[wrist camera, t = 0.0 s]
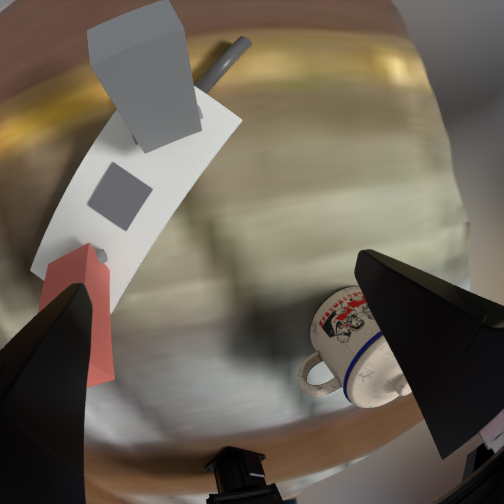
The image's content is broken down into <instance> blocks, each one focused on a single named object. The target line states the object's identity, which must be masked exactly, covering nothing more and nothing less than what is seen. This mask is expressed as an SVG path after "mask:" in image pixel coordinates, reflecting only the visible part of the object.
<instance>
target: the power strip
mask: <svg viewBox="0 0 504 504" xmlns="http://www.w3.org/2000/svg"><path fill="white" fill-rule="evenodd" d="M251 45H252V43H251V41H250V40H249V39H248V38H246V37H244V36H240V37H239V38H238V39H237V40H236V41H235V42H234V43H233V44H232V45H231V46H230V47H229V48H228V49H227V50H226V51H225V52H224V53H223V54H222V55H221V57H220V58H219V59H218V60H217V61H216V62H215V63H214V64H213V65H212V66H211V67H210V68H209V69H208V70H207V72H206V73H205V74H204V75H203V76H202V77H201V78H200V79H199V81H198V82H197V83H196V84H195V85H194V89H195V94H196V100H197V105H199V107H200V109H201V112H202V115H203V119H200V121H201V126H202V131H200V132H198V133H195V134H192V135H190V136H187V137H184V138H182V139H179V140H177V141H174V142H172V143H169V144H167V145H165V146H162V147H160V148H157V149H155V150H153V151H151V152H148V153H146V154H145V153H144V152H143V150H142V148H141V147H140V145H139V144H138V145H136V144H135V142H134V140H133V137H132V133H131V131H130V130H129V128H128V126H127V125H126V123H125V122H124V120H123V118H122V117H121V115H120V114H119V112H118V110H116V111H115V112H114V114H113V115H112V117H111V118H110V119H109V121H108V122H107V124H106V125H105V127H104V128H103V130H102V131H101V133H100V134H99V136H98V137H97V139H96V140H95V142H94V143H93V145H92V146H91V148H90V150H89V151H88V153H87V154H86V156H85V158H84V159H83V161H82V163H81V164H80V166H79V168H78V169H77V171H76V173H75V175H74V177H73V178H72V180H71V182H70V184H69V186H68V187H67V189H66V191H65V193H64V195H63V197H62V199H61V201H60V203H59V205H58V207H57V209H56V211H55V213H54V215H53V217H52V219H51V221H50V224H49V226H48V228H47V230H46V232H45V235H44V237H43V239H42V242H41V244H40V246H39V249H38V251H37V254H36V256H35V259H34V261H33V264H32V267H31V269H30V271H31V272H33V273H34V274H35V275H37V276H38V277H39V278H41V279H42V280H43V281H44V280H45V276H46V271H47V267H48V264H49V263H51V262H53V261H55V260H56V259H58V258H60V257H62V256H64V255H66V254H68V253H70V252H72V251H74V250H76V249H77V248H79V247H81V246H83V245H85V244H87V243H90V244H91V246H92V247H93V249H94V250H95V251H98V250H100V249H104V251H105V252H106V254H107V258H108V261H107V262H105V265H106V266H107V267H108V269H109V270H110V315H111V313H112V311H113V310H114V308H115V306H116V304H117V303H118V301H119V299H120V297H121V296H122V294H123V292H124V291H125V289H126V287H127V285H128V284H129V282H130V280H131V279H132V277H133V275H134V274H135V272H136V271H137V269H138V267H139V266H140V264H141V262H142V261H143V259H144V258H145V256H146V254H147V253H148V251H149V250H150V248H151V247H152V245H153V243H154V242H155V240H156V239H157V237H158V236H159V234H160V233H161V231H162V230H163V228H164V227H165V225H166V224H167V222H168V221H169V219H170V218H171V216H172V215H173V213H174V212H175V210H176V209H177V207H178V206H179V204H180V203H181V202H182V200H183V199H184V197H185V196H186V194H187V193H188V192H189V190H190V189H191V187H192V186H193V185H194V183H195V182H196V180H197V179H198V178H199V176H200V175H201V174H202V172H203V171H204V170H205V168H206V167H207V166H208V164H209V163H210V161H211V160H212V159H213V158H214V156H215V155H216V154H217V152H218V151H219V150H220V148H221V147H222V146H223V144H224V143H225V142H226V141H227V139H228V138H229V137H230V136H231V134H232V133H233V132H234V130H235V129H236V128H237V127H238V125H239V124H240V123H241V122H242V121H243V120H242V119H240V118H239V117H238V116H236V115H235V114H234V113H232V112H231V111H229V110H228V109H227V108H225V107H224V106H223V105H221V104H220V103H218V102H217V101H216V100H214V99H213V98H211V97H210V96H208V95H207V93H208V92H209V91H210V90H211V89H212V87H213V86H214V85H215V84H216V83H217V82H218V81H219V79H220V78H221V77H222V76H223V75H224V74H225V73H226V72H227V71H228V69H229V68H230V67H231V66H232V65H233V64H234V63H235V62H236V61H237V60H238V59H239V58H240V57H241V56H242V55H243V54H244V53H245V52H246V50H247V49H248V48H249V47H250V46H251Z"/></svg>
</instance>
